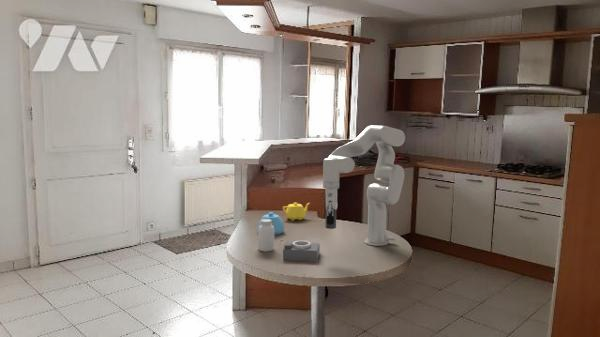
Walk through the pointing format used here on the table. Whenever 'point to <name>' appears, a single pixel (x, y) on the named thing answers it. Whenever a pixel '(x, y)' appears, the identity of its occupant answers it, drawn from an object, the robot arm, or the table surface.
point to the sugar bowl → (274, 222)
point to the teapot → (295, 211)
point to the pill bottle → (266, 235)
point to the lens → (332, 226)
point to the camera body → (301, 251)
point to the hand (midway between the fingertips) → (330, 222)
